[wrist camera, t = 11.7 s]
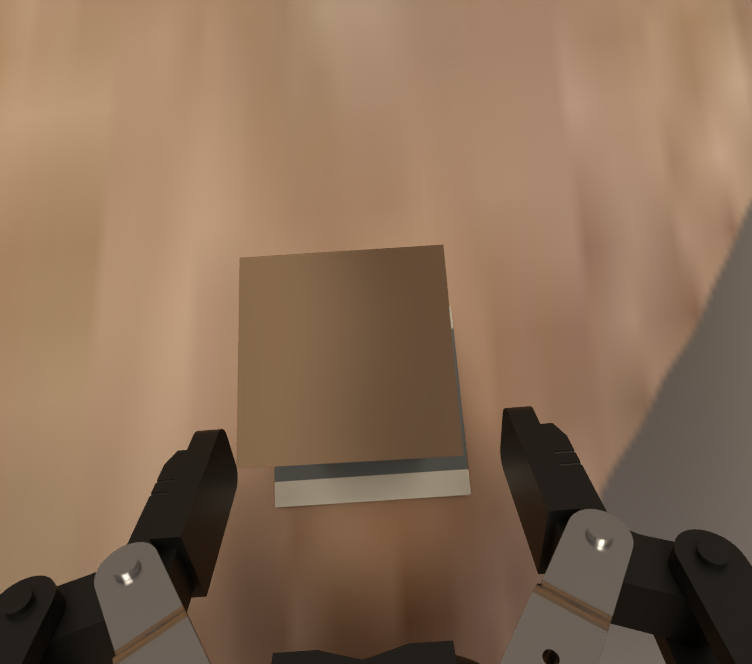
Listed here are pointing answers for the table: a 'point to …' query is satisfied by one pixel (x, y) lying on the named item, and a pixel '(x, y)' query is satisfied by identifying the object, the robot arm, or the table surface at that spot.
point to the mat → (375, 477)
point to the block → (345, 358)
